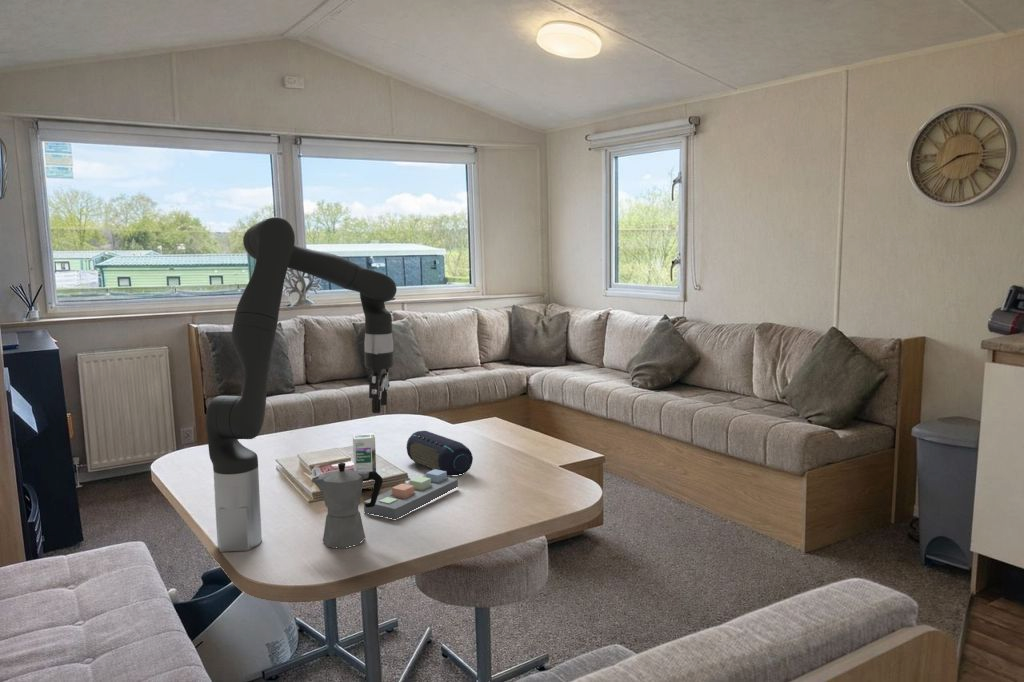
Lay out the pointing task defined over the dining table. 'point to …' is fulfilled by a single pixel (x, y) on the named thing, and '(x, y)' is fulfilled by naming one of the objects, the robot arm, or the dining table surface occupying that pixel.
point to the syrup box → (364, 452)
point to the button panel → (408, 499)
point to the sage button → (420, 483)
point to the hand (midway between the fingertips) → (379, 408)
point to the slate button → (437, 475)
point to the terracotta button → (403, 491)
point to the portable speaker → (439, 452)
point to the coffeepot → (345, 504)
